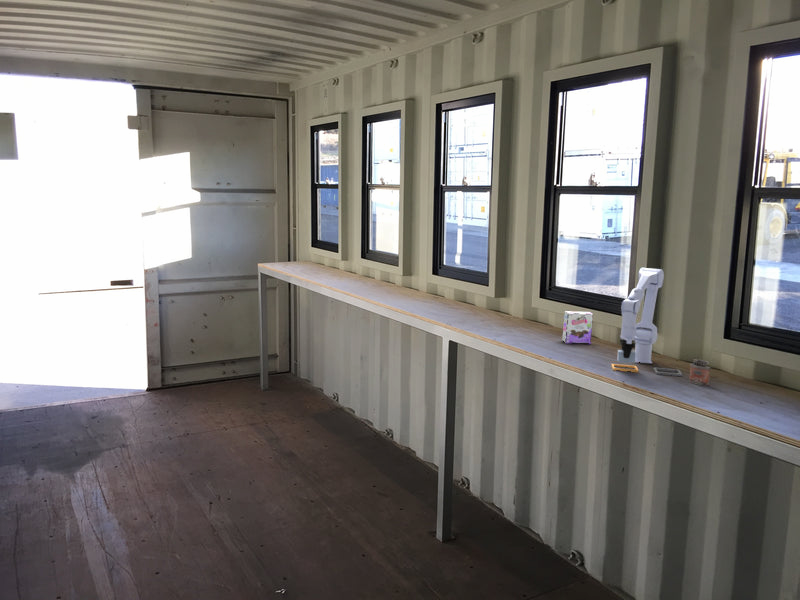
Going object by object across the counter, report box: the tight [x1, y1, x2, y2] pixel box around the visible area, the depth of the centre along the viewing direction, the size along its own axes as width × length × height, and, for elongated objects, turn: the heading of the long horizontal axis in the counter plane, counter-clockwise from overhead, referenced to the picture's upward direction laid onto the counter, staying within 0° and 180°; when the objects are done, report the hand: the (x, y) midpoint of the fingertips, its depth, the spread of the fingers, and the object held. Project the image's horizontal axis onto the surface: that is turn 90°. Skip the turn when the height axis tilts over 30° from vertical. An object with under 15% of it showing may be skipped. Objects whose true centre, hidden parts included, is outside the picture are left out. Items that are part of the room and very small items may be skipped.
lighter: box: [688, 358, 711, 386], centre depth 266 cm, size 8×3×10 cm, turn 40°
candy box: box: [561, 310, 594, 345], centre depth 337 cm, size 14×6×16 cm, turn 92°
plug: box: [616, 348, 636, 364], centre depth 284 cm, size 4×7×5 cm, turn 77°
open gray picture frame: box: [652, 367, 683, 377], centre depth 281 cm, size 8×11×1 cm
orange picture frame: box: [610, 363, 639, 373], centre depth 285 cm, size 8×11×1 cm
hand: (625, 356), depth 285 cm, fingers closed on plug, 4 cm apart
